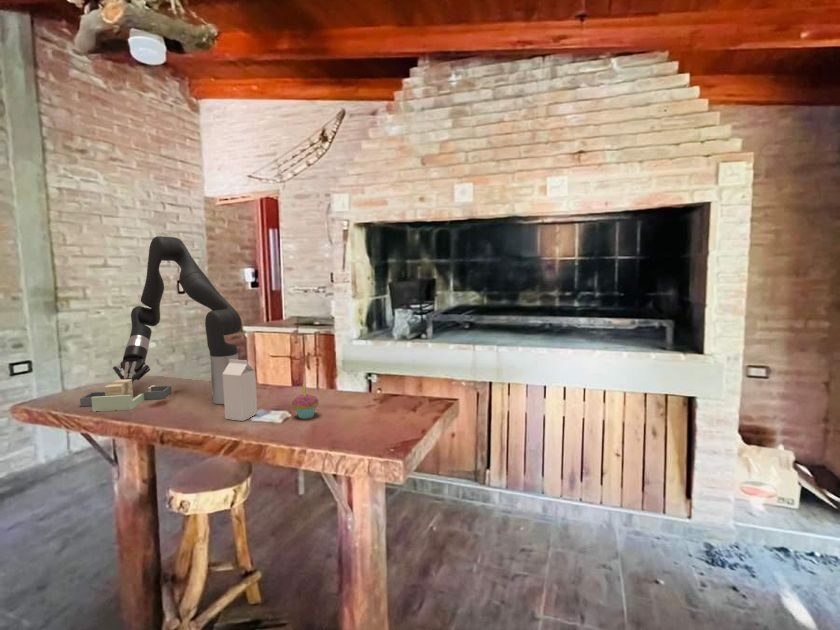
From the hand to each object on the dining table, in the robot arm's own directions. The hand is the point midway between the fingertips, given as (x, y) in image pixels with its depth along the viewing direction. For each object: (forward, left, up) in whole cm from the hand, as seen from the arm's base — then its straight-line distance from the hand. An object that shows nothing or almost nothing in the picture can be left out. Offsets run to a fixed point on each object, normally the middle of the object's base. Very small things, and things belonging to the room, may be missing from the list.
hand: (126, 389), depth 183 cm
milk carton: (-50, +20, -4) cm, 54 cm away
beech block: (-1, +6, -4) cm, 7 cm away
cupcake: (-71, +20, -4) cm, 73 cm away
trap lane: (0, 0, -4) cm, 4 cm away
